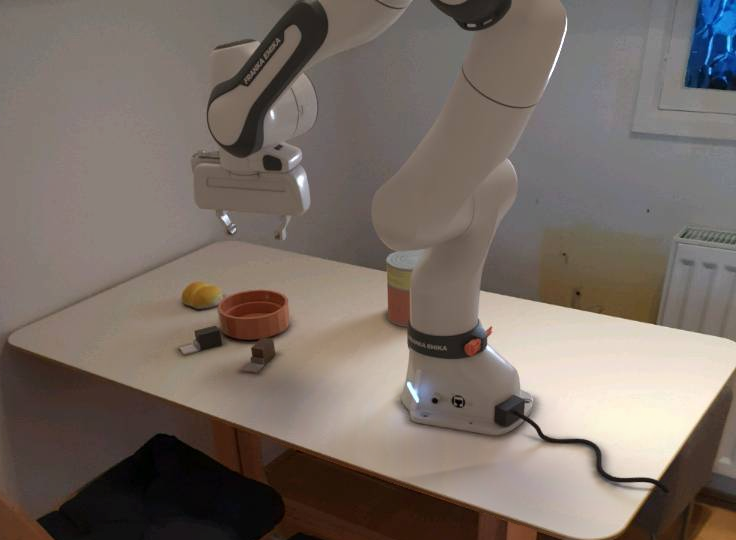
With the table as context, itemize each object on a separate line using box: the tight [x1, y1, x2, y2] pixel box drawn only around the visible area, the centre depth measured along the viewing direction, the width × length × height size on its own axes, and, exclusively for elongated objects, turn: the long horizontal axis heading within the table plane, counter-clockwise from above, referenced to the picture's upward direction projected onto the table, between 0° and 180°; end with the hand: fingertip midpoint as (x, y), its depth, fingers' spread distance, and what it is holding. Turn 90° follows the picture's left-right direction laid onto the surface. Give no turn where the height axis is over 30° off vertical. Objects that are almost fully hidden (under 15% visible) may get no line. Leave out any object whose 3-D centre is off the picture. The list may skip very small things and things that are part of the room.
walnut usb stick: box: [242, 337, 276, 374], centre depth 154 cm, size 8×3×3 cm, turn 157°
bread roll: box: [181, 281, 224, 310], centre depth 178 cm, size 8×9×4 cm
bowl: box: [217, 289, 291, 341], centre depth 167 cm, size 14×14×5 cm
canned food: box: [385, 249, 426, 328], centre depth 165 cm, size 11×11×12 cm
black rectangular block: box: [179, 325, 223, 356], centre depth 161 cm, size 8×3×3 cm, turn 116°
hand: (255, 236), depth 142 cm, fingers open, 8 cm apart
